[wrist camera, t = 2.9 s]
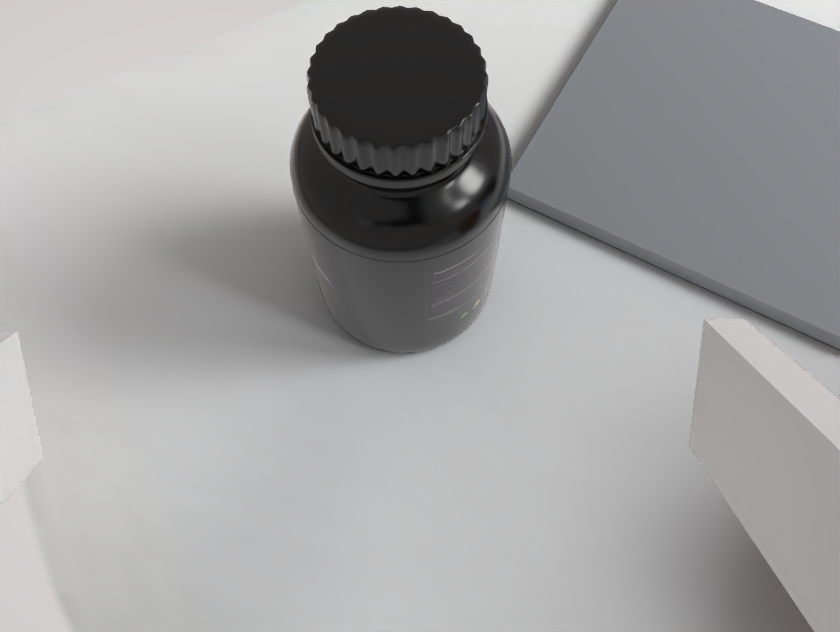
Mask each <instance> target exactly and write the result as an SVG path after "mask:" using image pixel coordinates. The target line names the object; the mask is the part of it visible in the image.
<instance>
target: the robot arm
mask: <svg viewBox="0 0 840 632" xmlns="http://www.w3.org/2000/svg"><path fill="white" fill-rule="evenodd" d="M689 447H690V448H691V450H692V451H693V453H694V454H695V456H696V457H697V459H698V460H699V462H700V463H701V465H702V466H703V468H704V469H705V471H706V472H707V474H708V475H709V477H710V478H711V480H712V481H713V483H714V484H715V485H716V487H717V488H718V490H719V491H720V493H721V494H722V496H723V497H724V499H725V500H726V502H727V503H728V505H729V506H730V508H731V509H732V511H733V512H734V514H735V515H736V517H737V518H738V520H739V521H740V523H741V524H742V525H743V527H744V528H745V530H746V531H747V533H748V534H749V536H750V537H751V539H752V540H753V542H754V543H755V545H756V546H757V548H758V549H759V551H760V552H761V554H762V555H763V557H764V558H765V560H766V561H767V563H768V564H769V565H770V567H771V568H772V570H773V571H774V573H775V574H776V576H777V577H778V579H779V580H780V582H781V583H782V585H783V586H784V588H785V589H786V591H787V592H788V594H789V595H790V597H791V598H792V600H793V601H794V603H795V604H796V605H797V607H798V608H799V610H800V611H801V613H802V614H803V616H804V617H805V619H806V620H807V622H808V623H809V625H810V626H811V628H812V629H813V631H814V632H840V399H839V398H838V397H836V396H835V395H834V394H833V393H832V392H830V391H829V390H828V389H827V388H826V387H825V386H823V385H822V384H821V383H820V382H819V381H817V380H816V379H815V378H814V377H813V376H812V375H810V374H809V373H808V372H807V371H806V370H804V369H803V368H802V367H801V366H800V365H799V364H797V363H796V362H795V361H794V360H793V359H791V358H790V357H789V356H788V355H787V354H786V353H784V352H783V351H782V350H781V349H780V348H778V347H777V346H776V345H775V344H774V343H773V342H771V341H770V340H769V339H768V338H767V337H765V336H764V335H763V334H762V333H761V332H760V331H758V330H757V329H756V328H755V327H754V326H752V325H751V324H750V323H749V322H748V321H747V320H745V319H704V325H703V333H702V342H701V350H700V358H699V367H698V375H697V384H696V392H695V401H694V409H693V418H692V426H691V435H690V443H689ZM43 458H44V455H43V450H42V445H41V440H40V435H39V431H38V426H37V421H36V416H35V411H34V407H33V402H32V397H31V392H30V388H29V383H28V378H27V373H26V368H25V364H24V359H23V354H22V349H21V344H20V340H19V335H18V331H0V506H1V505H2V504H3V503H4V502H5V501H6V500H7V499H8V497H9V496H10V495H11V494H12V493H13V492H14V491H15V489H16V488H17V487H18V486H19V485H20V484H21V483H22V482H23V481H24V479H25V478H26V477H27V476H28V475H29V474H30V473H31V472H32V470H33V469H34V468H35V467H36V466H37V465H38V464H39V463H40V461H41V460H42V459H43Z"/></svg>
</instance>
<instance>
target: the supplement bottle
mask: <svg viewBox="0 0 840 632" xmlns="http://www.w3.org/2000/svg"><path fill="white" fill-rule="evenodd" d="M307 81H308V86H307V94H308V99H309V104H310V108H309V109H308V110H307V112H306V113H305V115H304V116H303V118H302V120H301V122H300V124H299V126H298V128H297V131H296V133H295V136H294V139H293V142H292V147H291V153H290V174H291V180H292V185H293V190H294V194H295V198H296V202H297V205H298V209H299V213H300V216H301V220H302V223H303V227H304V231H305V234H306V238H307V242H308V245H309V249H310V252H311V256H312V260H313V263H314V267H315V271H316V274H317V278H318V281H319V285H320V288H321V291H322V294H323V297H324V300H325V302H326V304H327V307H328V309H329V310H330V312H331V314H332V315H333V317H334V318H335V320H336V321H337V322H338V323H339V324H340V325H341V327H342V328H343V329H345V330H346V331H347V332H348V333H349V334H351V335H352V336H353V337H355V338H356V339H358V340H360V341H361V342H363V343H365V344H367V345H369V346H372V347H375V348H378V349H381V350H385V351H391V352H400V353H410V352H420V351H425V350H429V349H432V348H435V347H438V346H441V345H443V344H445V343H447V342H449V341H451V340H452V339H454V338H455V337H457V336H458V335H460V334H461V333H462V332H463V331H465V330H466V329H467V328H468V327H469V326H470V325H471V324H472V323H473V321H474V320H475V319H476V318H477V316H478V315H479V313H480V311H481V310H482V308H483V306H484V304H485V301H486V298H487V296H488V293H489V289H490V285H491V280H492V276H493V270H494V265H495V260H496V254H497V249H498V244H499V238H500V233H501V227H502V222H503V217H504V211H505V206H506V201H507V195H508V190H509V183H510V176H511V149H510V144H509V140H508V136H507V133H506V130H505V128H504V126H503V124H502V122H501V120H500V118H499V117H498V115H497V113H496V112H495V110H494V109H493V108H492V106H491V105H490V104H489V103H488V101H487V87H488V75H487V73H486V61H485V60H484V58H483V57H482V56H481V49H480V47H479V46H478V45H476V44H475V43H474V40H473V37H472V36H471V35H470V34H468V33H466V32H465V31H464V30H463V28H462V26H460V25H458V24H455V23H453V22H452V21H451V20H450V19H449V18H448V17H444V16H439V15H438V14H436V13H435V12H433V11H423V10H421V9H419V8H417V7H415V8H406V7H403V6H397V7H393V8H388V7H381V8H379V9H377V10H366V11H365V12H363V13H362V14H360V15H354V16H351V17H350V18H349V19H348V20H347V21H345V22H342V23H339V24H337V25H336V27H335V28H334V30H332V31H331V32H328V33H327V34H326V35H325V37H324V39H323V41H322V42H320V43H319V44H318V45H317V46H316V52H315V54H314V55H313V56H312V57H311V58H310V68H309V69H308V71H307Z"/></svg>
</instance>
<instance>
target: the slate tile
mask: <svg viewBox="0 0 840 632" xmlns="http://www.w3.org/2000/svg"><path fill="white" fill-rule="evenodd" d="M507 198H508V199H510V200H512V201H515V202H517V203H519V204H521V205H523V206H526V207H528V208H530V209H532V210H534V211H537V212H539V213H541V214H543V215H545V216H548V217H550V218H552V219H554V220H556V221H558V222H561V223H563V224H565V225H567V226H569V227H572V228H574V229H576V230H578V231H580V232H583V233H585V234H587V235H589V236H591V237H594V238H596V239H598V240H600V241H602V242H604V243H607V244H609V245H611V246H613V247H615V248H618V249H620V250H622V251H624V252H626V253H629V254H631V255H633V256H635V257H637V258H640V259H642V260H644V261H646V262H648V263H651V264H653V265H655V266H657V267H659V268H661V269H664V270H666V271H668V272H670V273H672V274H675V275H677V276H679V277H681V278H683V279H686V280H688V281H690V282H692V283H694V284H697V285H699V286H701V287H703V288H705V289H707V290H710V291H712V292H714V293H716V294H718V295H721V296H723V297H725V298H727V299H729V300H732V301H734V302H736V303H738V304H740V305H743V306H745V307H747V308H749V309H751V310H754V311H756V312H758V313H760V314H762V315H764V316H767V317H769V318H771V319H773V320H775V321H778V322H780V323H782V324H784V325H786V326H789V327H791V328H793V329H795V330H797V331H800V332H802V333H804V334H806V335H808V336H810V337H813V338H815V339H817V340H819V341H821V342H824V343H826V344H828V345H830V346H832V347H835V348H837V349H839V350H840V32H839V31H837V30H834V29H831V28H828V27H826V26H823V25H820V24H817V23H815V22H812V21H809V20H807V19H804V18H801V17H798V16H796V15H793V14H790V13H787V12H785V11H782V10H779V9H776V8H774V7H771V6H768V5H766V4H763V3H760V2H757V1H755V0H617V2H616V4H615V5H614V7H613V8H612V10H611V12H610V13H609V15H608V16H607V18H606V20H605V21H604V23H603V25H602V26H601V28H600V29H599V31H598V33H597V34H596V36H595V37H594V39H593V41H592V42H591V44H590V46H589V47H588V49H587V50H586V52H585V54H584V55H583V57H582V59H581V60H580V62H579V63H578V65H577V67H576V68H575V70H574V71H573V73H572V75H571V76H570V78H569V80H568V81H567V83H566V84H565V86H564V88H563V89H562V91H561V92H560V94H559V96H558V97H557V99H556V101H555V102H554V104H553V105H552V107H551V109H550V110H549V112H548V113H547V115H546V117H545V118H544V120H543V122H542V123H541V125H540V126H539V128H538V130H537V131H536V133H535V135H534V136H533V138H532V139H531V141H530V143H529V144H528V146H527V147H526V149H525V151H524V152H523V154H522V156H521V157H520V159H519V160H518V162H517V164H516V165H515V167H514V168H513V170H512V172H511V176H510V183H509V190H508V195H507Z"/></svg>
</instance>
